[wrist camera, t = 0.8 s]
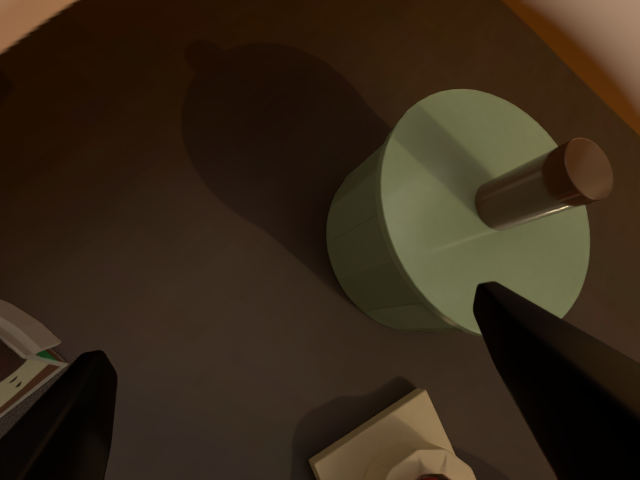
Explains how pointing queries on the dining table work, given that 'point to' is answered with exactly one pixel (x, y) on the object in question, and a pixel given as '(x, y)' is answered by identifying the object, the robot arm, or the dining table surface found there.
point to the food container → (24, 356)
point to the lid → (486, 204)
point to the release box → (394, 447)
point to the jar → (372, 258)
